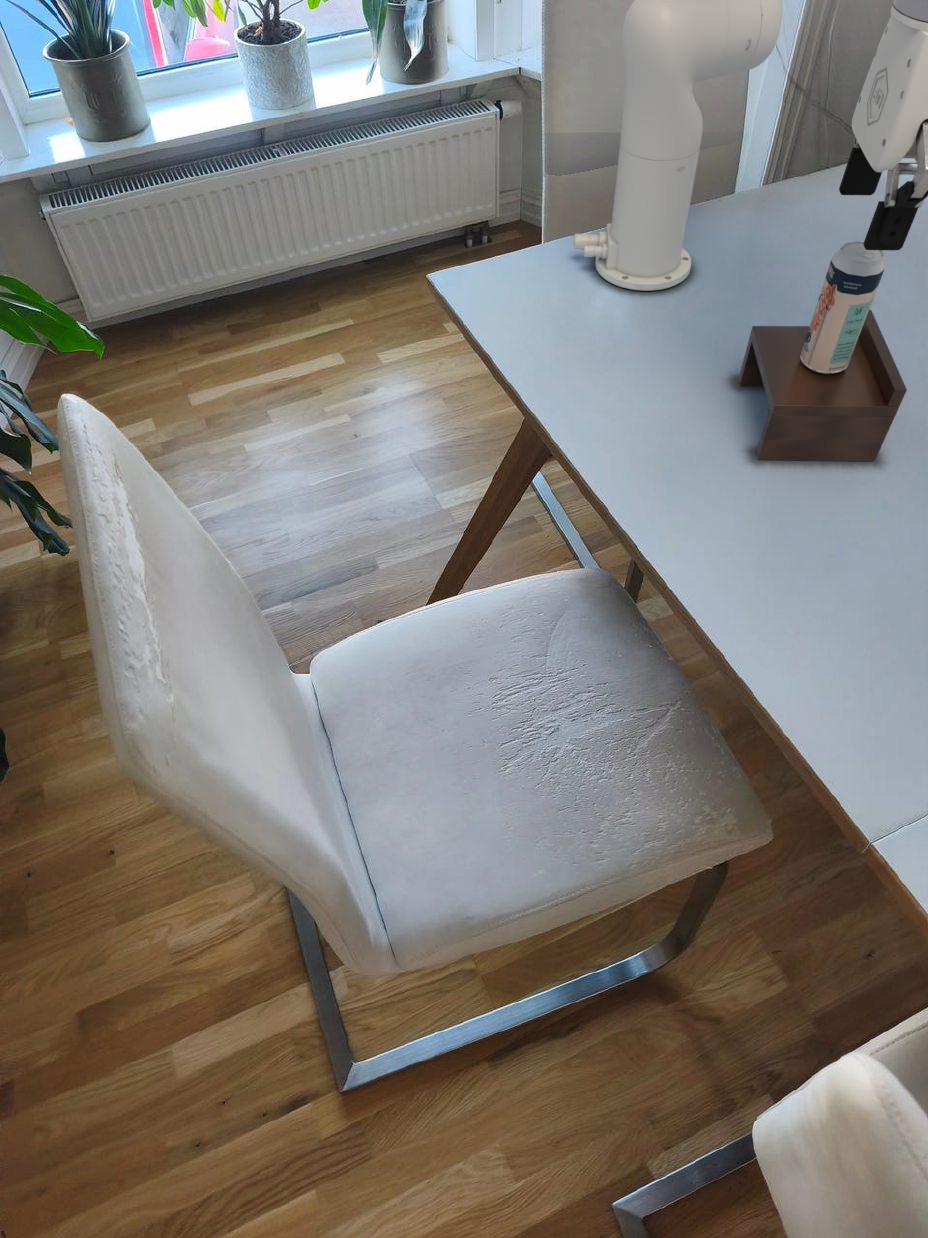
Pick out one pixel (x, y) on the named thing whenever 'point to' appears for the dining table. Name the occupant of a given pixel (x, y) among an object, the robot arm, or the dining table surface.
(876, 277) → the beer can
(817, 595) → the dining table surface
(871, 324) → the shelf
